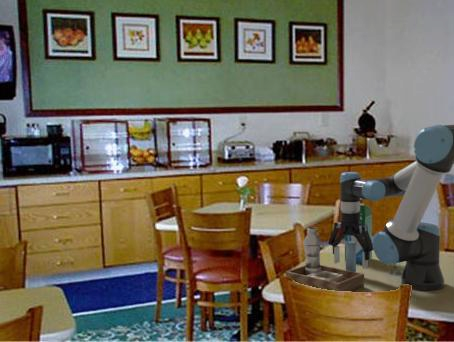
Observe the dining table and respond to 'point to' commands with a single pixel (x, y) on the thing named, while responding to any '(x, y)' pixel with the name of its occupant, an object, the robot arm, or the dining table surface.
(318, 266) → the plastic bottle
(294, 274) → the tray
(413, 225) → the robot arm
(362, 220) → the milk carton
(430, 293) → the dining table surface
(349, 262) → the peg
